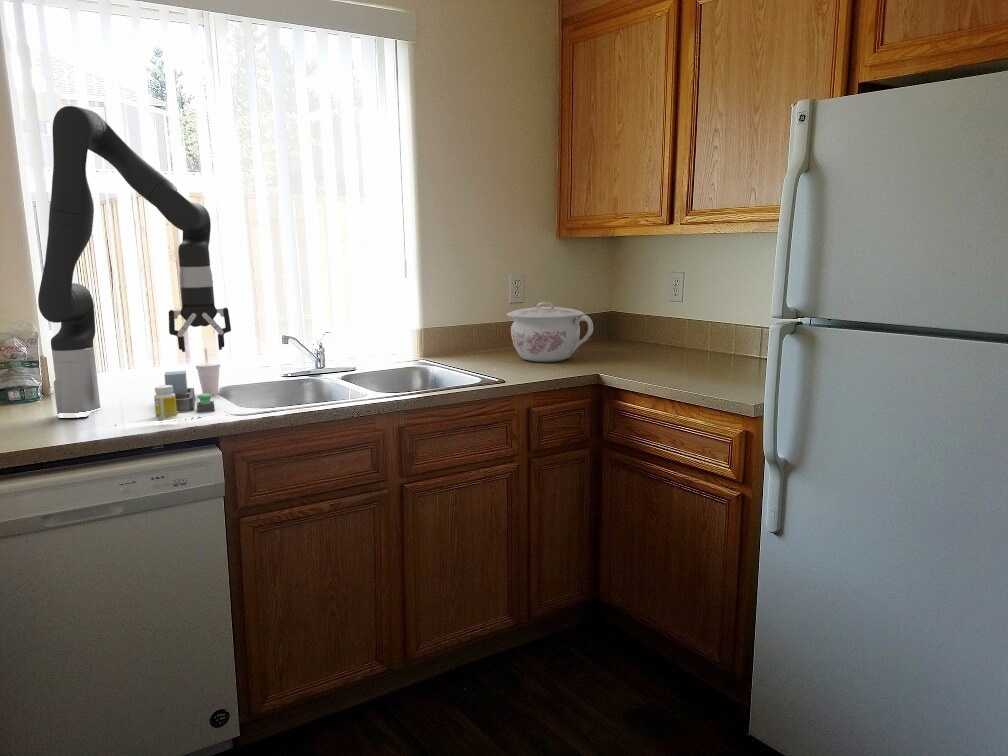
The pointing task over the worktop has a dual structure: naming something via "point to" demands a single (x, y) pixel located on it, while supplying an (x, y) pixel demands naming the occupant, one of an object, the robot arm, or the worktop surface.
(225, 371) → the worktop surface
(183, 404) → the gray open tray
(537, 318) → the chamber pot
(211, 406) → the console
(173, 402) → the supplement bottle
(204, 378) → the smoothie
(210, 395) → the button
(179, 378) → the blue block
